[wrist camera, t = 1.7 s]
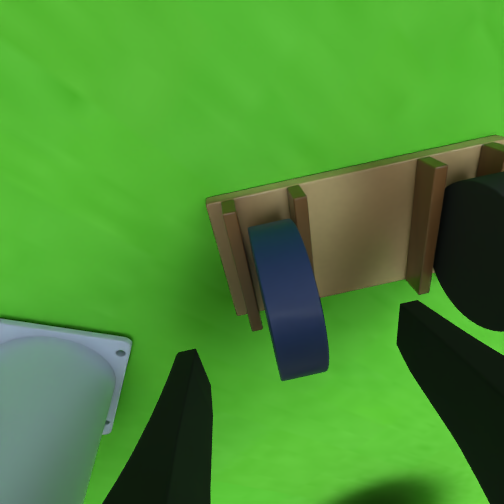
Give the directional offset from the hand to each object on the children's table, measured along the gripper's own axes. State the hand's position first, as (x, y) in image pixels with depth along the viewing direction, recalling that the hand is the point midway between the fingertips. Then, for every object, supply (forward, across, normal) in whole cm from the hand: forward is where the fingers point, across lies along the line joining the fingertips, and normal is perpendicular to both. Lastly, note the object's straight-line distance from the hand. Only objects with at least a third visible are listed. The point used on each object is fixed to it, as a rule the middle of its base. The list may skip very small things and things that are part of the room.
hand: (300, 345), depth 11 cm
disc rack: (+7, -4, 0) cm, 8 cm away
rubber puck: (+6, -9, 0) cm, 11 cm away
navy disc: (+6, 0, 0) cm, 6 cm away
